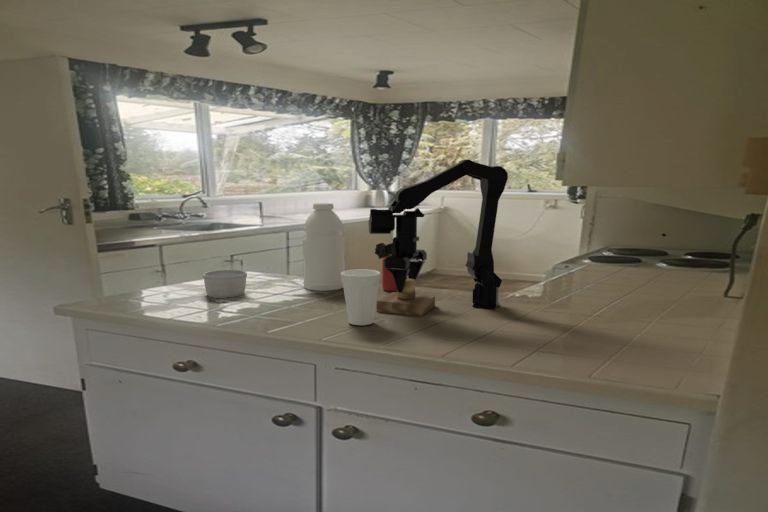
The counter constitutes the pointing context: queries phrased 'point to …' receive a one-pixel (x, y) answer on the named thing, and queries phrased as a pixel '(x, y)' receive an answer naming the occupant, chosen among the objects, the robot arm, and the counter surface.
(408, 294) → the peg
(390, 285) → the beer can
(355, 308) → the cup
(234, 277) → the ramekin
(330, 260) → the bottle
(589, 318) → the counter surface
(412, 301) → the board
